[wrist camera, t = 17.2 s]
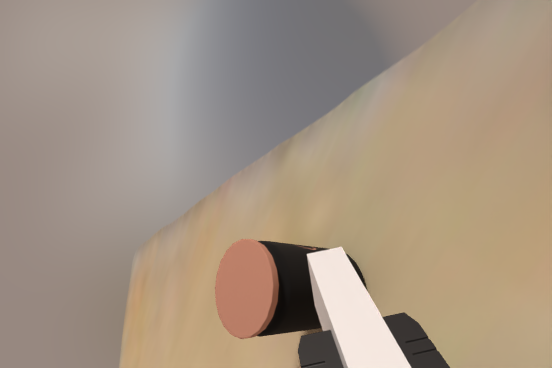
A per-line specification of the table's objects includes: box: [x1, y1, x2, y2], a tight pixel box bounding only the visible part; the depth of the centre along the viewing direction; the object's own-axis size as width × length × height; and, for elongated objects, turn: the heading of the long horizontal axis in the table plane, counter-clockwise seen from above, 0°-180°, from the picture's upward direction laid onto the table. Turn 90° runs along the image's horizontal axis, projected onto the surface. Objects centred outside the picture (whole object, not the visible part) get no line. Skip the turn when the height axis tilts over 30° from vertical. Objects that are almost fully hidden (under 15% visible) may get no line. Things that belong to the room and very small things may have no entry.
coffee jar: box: [215, 239, 365, 339], centre depth 41 cm, size 11×11×18 cm
